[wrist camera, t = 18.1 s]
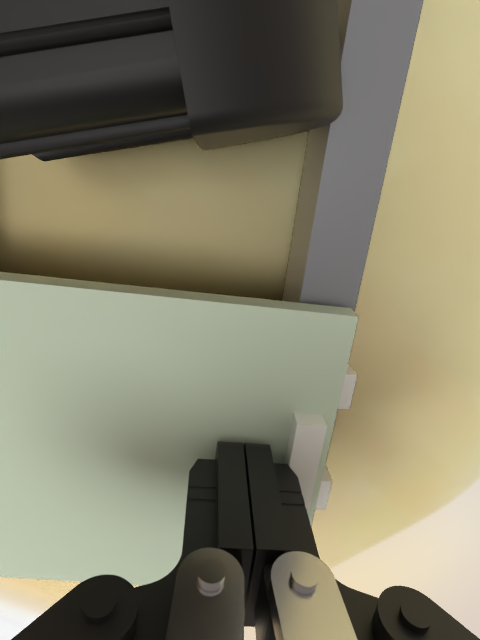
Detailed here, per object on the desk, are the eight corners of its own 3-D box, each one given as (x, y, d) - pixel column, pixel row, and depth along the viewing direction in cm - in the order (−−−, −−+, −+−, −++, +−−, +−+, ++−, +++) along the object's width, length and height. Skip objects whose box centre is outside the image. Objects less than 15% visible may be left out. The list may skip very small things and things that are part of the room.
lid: (-66, 553, 14) (-94, 590, 12) (-116, 259, 10) (-162, 271, 9) (292, 574, 14) (299, 611, 13) (350, 308, 11) (366, 325, 10)
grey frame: (-35, 495, 16) (-77, 551, 14) (-182, -624, 8) (-361, -979, 5) (301, 512, 17) (314, 565, 15) (502, -436, 9) (607, -656, 6)
